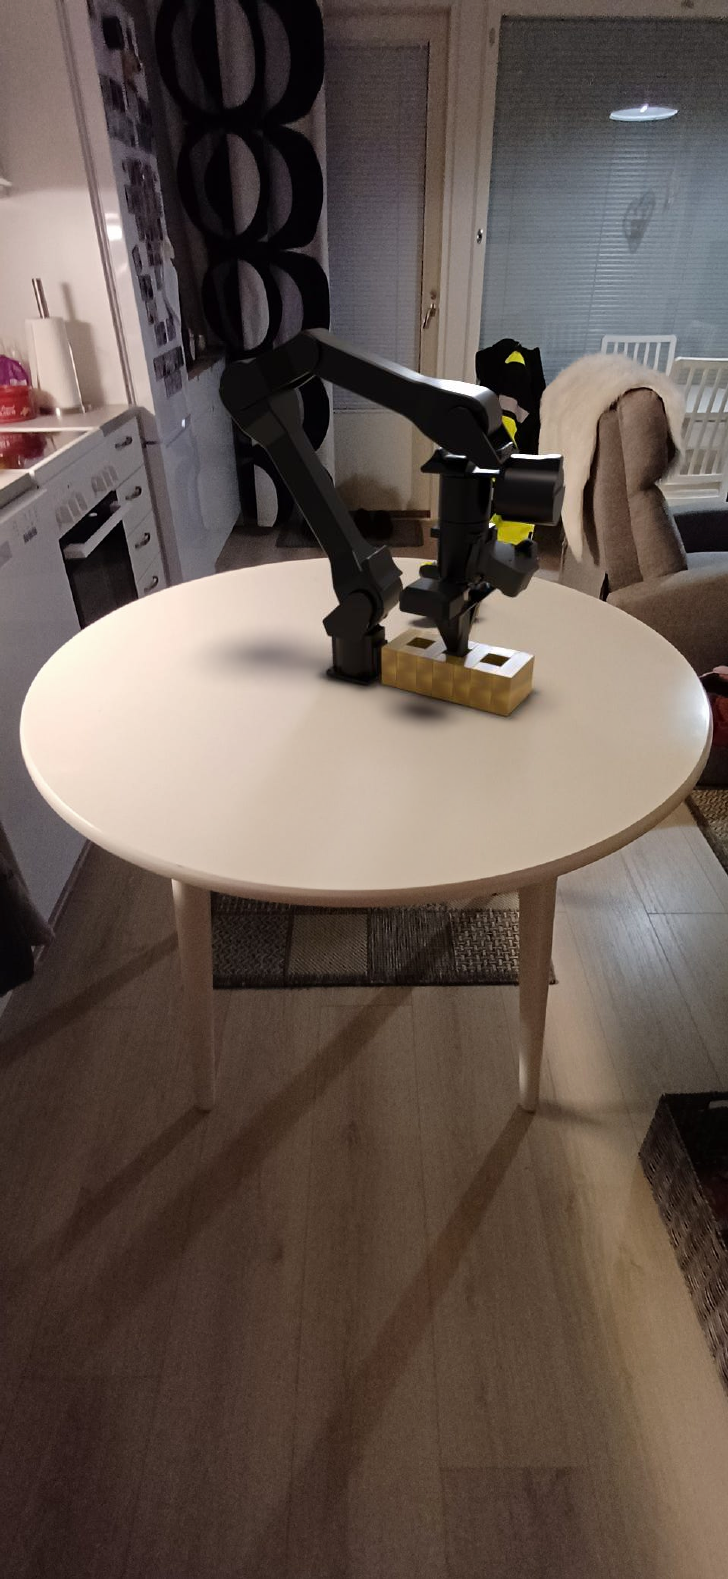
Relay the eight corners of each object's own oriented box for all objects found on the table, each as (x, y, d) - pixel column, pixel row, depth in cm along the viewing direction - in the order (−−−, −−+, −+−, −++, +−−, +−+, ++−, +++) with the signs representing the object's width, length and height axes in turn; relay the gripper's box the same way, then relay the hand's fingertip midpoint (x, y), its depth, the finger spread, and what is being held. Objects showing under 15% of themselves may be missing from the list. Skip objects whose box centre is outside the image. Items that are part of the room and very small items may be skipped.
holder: (381, 683, 98) (381, 647, 95) (409, 663, 103) (409, 627, 100) (507, 716, 91) (510, 677, 88) (530, 692, 96) (535, 655, 93)
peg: (445, 668, 95) (448, 597, 90) (452, 662, 96) (456, 592, 91) (459, 672, 94) (464, 601, 89) (467, 666, 96) (471, 595, 91)
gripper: (496, 550, 75) (485, 694, 84) (564, 506, 88) (548, 635, 97) (397, 534, 80) (396, 672, 89) (474, 495, 93) (467, 618, 102)
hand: (456, 648), depth 94 cm, fingers closed on peg, 2 cm apart
